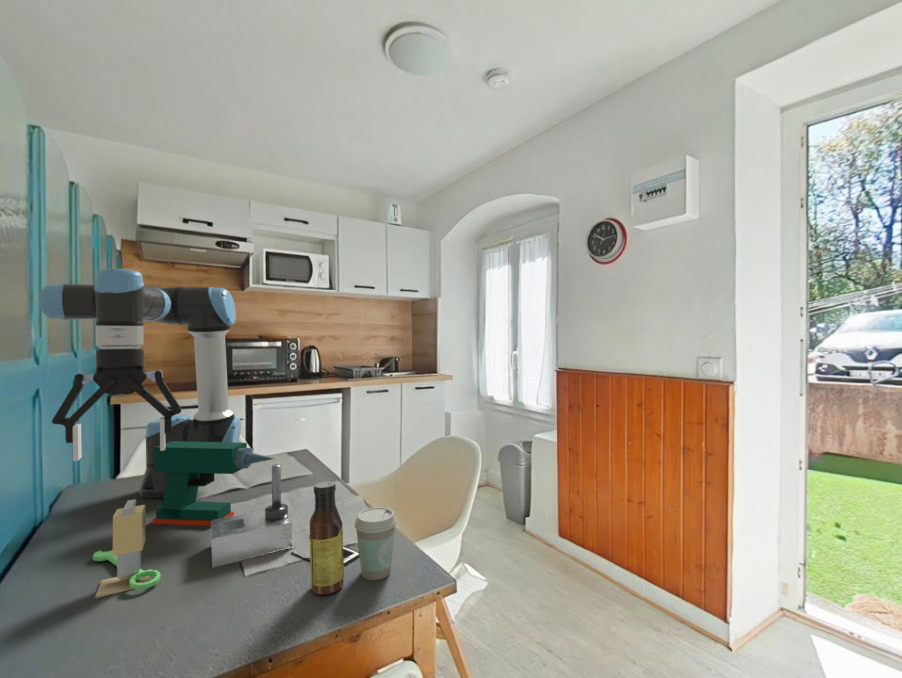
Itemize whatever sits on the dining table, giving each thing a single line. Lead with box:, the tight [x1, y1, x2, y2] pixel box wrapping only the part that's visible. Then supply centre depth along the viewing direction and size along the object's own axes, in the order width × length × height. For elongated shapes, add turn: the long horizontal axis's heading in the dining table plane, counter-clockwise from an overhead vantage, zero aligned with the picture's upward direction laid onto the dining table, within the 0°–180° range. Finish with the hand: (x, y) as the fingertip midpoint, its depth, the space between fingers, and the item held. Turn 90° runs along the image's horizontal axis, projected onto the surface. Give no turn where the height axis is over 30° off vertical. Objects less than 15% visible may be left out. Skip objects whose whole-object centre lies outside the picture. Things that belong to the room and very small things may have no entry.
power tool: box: [152, 441, 275, 527], centre depth 114 cm, size 32×7×20 cm, turn 84°
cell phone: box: [293, 545, 360, 567], centre depth 96 cm, size 8×15×1 cm, turn 56°
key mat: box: [94, 568, 152, 599], centre depth 84 cm, size 6×8×1 cm
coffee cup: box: [354, 506, 398, 581], centre depth 88 cm, size 8×8×12 cm
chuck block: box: [210, 463, 293, 568], centre depth 99 cm, size 11×16×18 cm
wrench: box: [92, 549, 162, 590], centre depth 89 cm, size 25×2×5 cm
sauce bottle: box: [308, 480, 345, 596], centre depth 83 cm, size 7×6×20 cm
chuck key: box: [112, 498, 146, 578], centre depth 85 cm, size 6×5×13 cm
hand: (121, 454), depth 86 cm, fingers open, 13 cm apart
